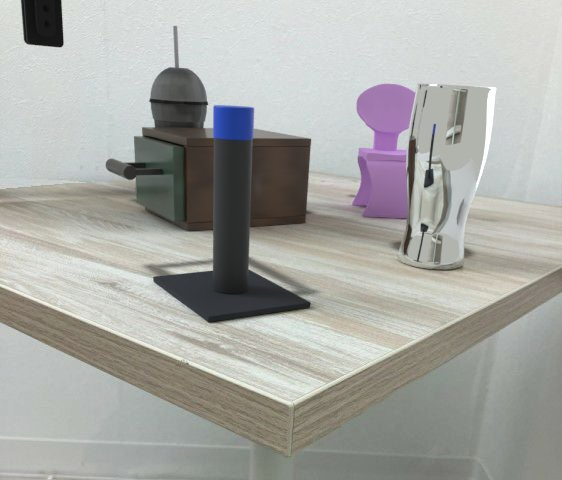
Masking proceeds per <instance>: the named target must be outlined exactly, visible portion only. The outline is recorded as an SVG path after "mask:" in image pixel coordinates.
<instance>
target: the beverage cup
mask: <svg viewBox="0 0 562 480" xmlns="http://www.w3.org/2000/svg"><path fill="white" fill-rule="evenodd" d="M172 31H173V52H174V53H173V54H174V58H173V59H174V67H173V66H171V67H170V66H169V67H166V68H164V69H163V70H162V71H161V72H160V73H158V75H157V76H156V77H155V78H154V81H153V83H152V85H151V88H150V98H149V100H148V102H149V103H150V110H151V115H152V119H153V122H154V127H167V128H205V127H204V126H205V122H206V118H207V112H208V106H209V102H208V96H207V90H206V88H205V85H204V83H203V82H202V80H201V78H200V77H199V76H198V74H196V72H194V71H193V70H191V69H189V68H187V67H180V59H179V35H178V25H173V26H172Z"/></svg>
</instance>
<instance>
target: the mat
mask: <svg viewBox="0 0 562 480" xmlns="http://www.w3.org/2000/svg"><path fill="white" fill-rule="evenodd" d="M152 282H154V283H155V284H156V285H157V286H159V287H160V288H161V289H163V290H164V291H165V292H167V293H169V294H170V295H171V296H172V297H174V298H175V299H177V300H178V301H179V302H181V303H182V304H183V305H184V306H186V307H187V308H188V309H190V310H191V311H193V312H194V313H195V314H197V315H198V316H199V317H201V318H202V319H204V320H205V321H206V322H207V323H213V322H219V321H227V320H235V319H240V318H241V319H242V318H247V317H254V316H260V315H267V314H274V313H282V312H288V311H293V310H302V309H309V308H311V305H312V304H311V301H309V300H308V299H305V298H303V297H302V296H299V295H298V294H296V293H294V292H292V291H290V290H288V289H286V288H284V287H283V286H281V285H279V284H277V283H275V282H273V281H272V280H270V279H268V278H266V277H264V276H262V275H261V274H258V273H256V272H254V271H252V270H251V269H249V271H248V290H247V291H246V292H244V293H240V294H224V293H219V292H216V291H214V290H213V270H204V271H195V272H186V273H175V274H174V273H173V274H167V275H157V276H153V277H152Z"/></svg>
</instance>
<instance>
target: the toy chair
mask: <svg viewBox="0 0 562 480" xmlns="http://www.w3.org/2000/svg"><path fill="white" fill-rule="evenodd" d="M415 93H416V91H414V90H412V89H410V88H409V87H407V86H404V85H401V84H397V83H380V84H376V85H373V86H371V87H369V88H366V89H365V90H363V92H361V93H360V94H359V96H358V97H357V100H356V106H355V107H356V113H357V115H358V117H359V118H360V119H361V121H362V122H364V124H365V125H366V126H367V127H368V128H369V129H370V130H372V131H373V144H372V148H370V147H358V153H357V164H358V168H359V171H360V183H359V188H358V190H357V192H356V195H355V196H354V199H353V200H352V203H351V205H352V206H365V207H364V210H363V211H362V213H361V217H366V218H386V219H387V218H390V219H392V218H393V219H407V182H406V149H398V140H399V135H400V134H401V133H403V132H404V131H406V130H407V131H408V130H409V123H410V117H411V112H412V107H413V102H414V98H415Z"/></svg>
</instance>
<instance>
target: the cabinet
mask: <svg viewBox="0 0 562 480" xmlns="http://www.w3.org/2000/svg"><path fill="white" fill-rule="evenodd" d="M141 136H145V137H149V138H152V139H156V140H158V139H161V140H165V141H168V142H172V143H176V144H180V145H184V175H185V221H180V222H174V221H172V220H170V219H168V218H166V217H164V216H162V215H160V214H158V213H156V212H154V211H152V210H150V209H148V208H146V207H144V210H146V211H148V212H150V213H152V214H154V215H156V216H157V217H160V218H162V219H164V220H166V221H167V222H169V223H171V224H173V225H175V226H177V227H179V228H180V229H183V230H184V231H187V232H194V231H208V230H209V231H210V230H213V189H214V137H213V127H204V128H167V127H155V126H142V127H141ZM311 146H312V138H310V137H304V136H299V135H294V134H287V133H281V132H275V131H270V130H264V129H259V128H254V135H253V143H252V175H251V207H250V228H252V227H265V226H281V225H295V224H296V225H297V224H306V222H307V208H308V207H307V206H308V193H309V179H310V177H309V176H310V161H311Z"/></svg>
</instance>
